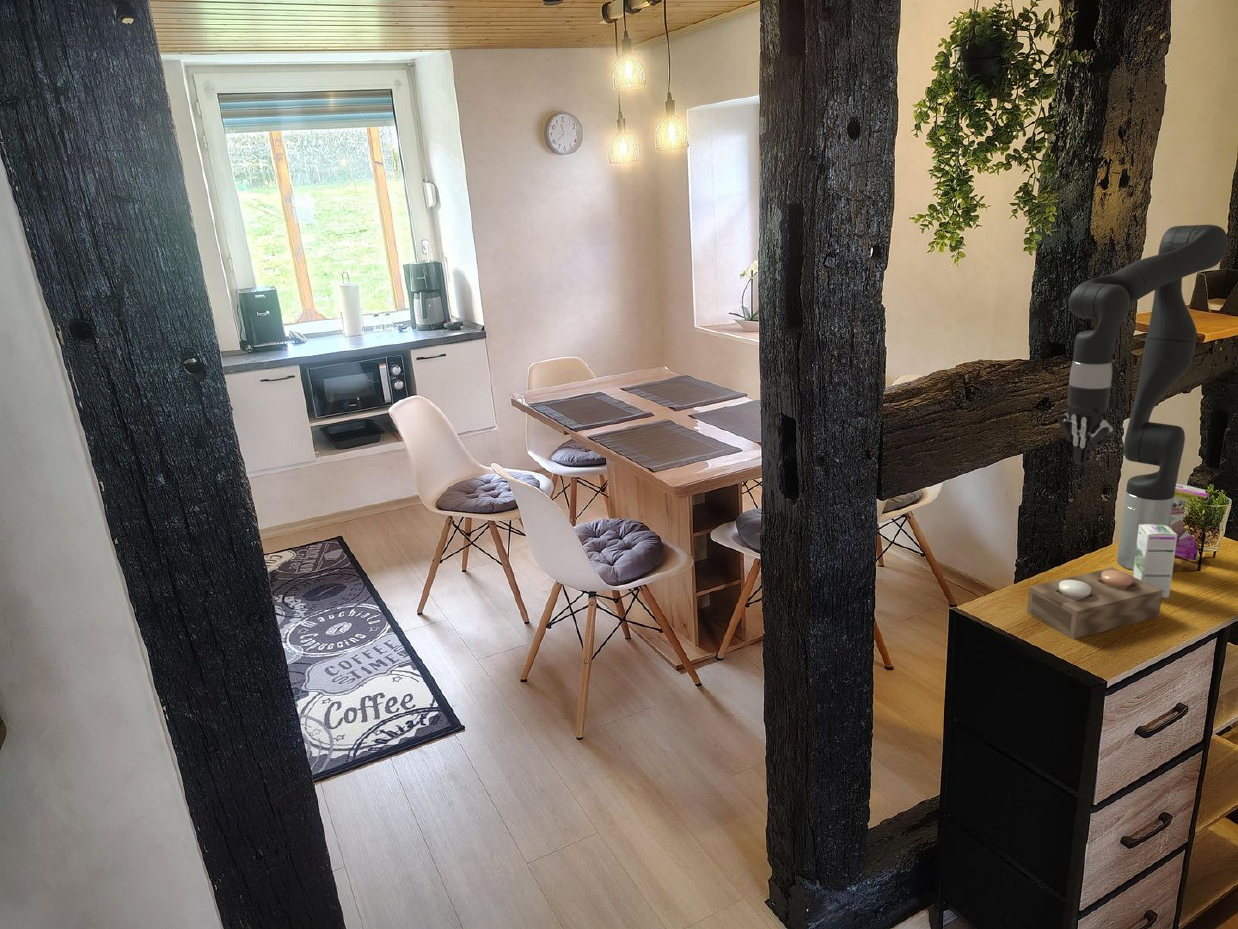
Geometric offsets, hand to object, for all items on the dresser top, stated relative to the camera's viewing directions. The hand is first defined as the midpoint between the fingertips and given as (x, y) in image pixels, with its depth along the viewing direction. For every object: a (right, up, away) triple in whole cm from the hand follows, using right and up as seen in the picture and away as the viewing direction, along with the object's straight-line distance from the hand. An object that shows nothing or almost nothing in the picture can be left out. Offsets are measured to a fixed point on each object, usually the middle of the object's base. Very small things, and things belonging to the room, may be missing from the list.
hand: (1081, 463), depth 180 cm
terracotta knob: (+5, -30, -3) cm, 30 cm away
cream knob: (-6, -31, -7) cm, 32 cm away
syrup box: (+17, -28, +4) cm, 32 cm away
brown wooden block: (0, -31, -5) cm, 31 cm away
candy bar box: (+33, -21, +21) cm, 45 cm away
